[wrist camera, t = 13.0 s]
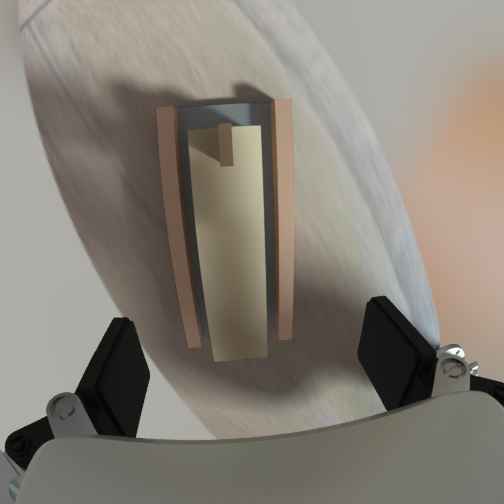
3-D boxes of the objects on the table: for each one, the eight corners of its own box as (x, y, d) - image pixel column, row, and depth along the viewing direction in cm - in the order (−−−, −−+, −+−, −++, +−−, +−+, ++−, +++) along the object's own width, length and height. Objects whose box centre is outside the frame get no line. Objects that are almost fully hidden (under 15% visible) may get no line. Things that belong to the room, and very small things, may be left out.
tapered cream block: (250, 130, 20) (269, 121, 12) (257, 314, 26) (273, 385, 18) (196, 134, 20) (180, 127, 12) (214, 317, 26) (214, 390, 18)
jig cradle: (282, 104, 21) (291, 99, 18) (285, 319, 28) (291, 339, 25) (164, 112, 20) (156, 107, 17) (191, 327, 27) (188, 348, 25)
